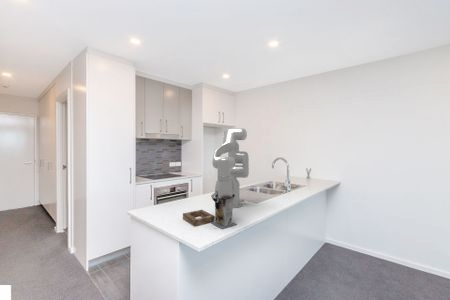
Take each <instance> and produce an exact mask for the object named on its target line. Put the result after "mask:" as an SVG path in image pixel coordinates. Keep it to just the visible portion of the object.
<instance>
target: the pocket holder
mask: <svg viewBox="0 0 450 300" xmlns="http://www.w3.org/2000/svg"><path fill="white" fill-rule="evenodd" d="M197 217H198V218H197ZM182 219H183V220H184V221H185V222H187V223H188V224H190V225H191V226H193V227H198V226H202V225H207V224H210V223H211V222H215V214H211V213H210V212H207V211H205V210H203V209H197V210H193V211H188V212H183V213H182Z"/></svg>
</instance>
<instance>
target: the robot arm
mask: <svg viewBox="0 0 450 300" xmlns="http://www.w3.org/2000/svg"><path fill="white" fill-rule="evenodd" d="M247 132H248V131H247V129H245V128H241V127H240V128H236V127H235V128H232V127H231V128H227V129H225V130H224V131H223V135H224V136H223V141H222V144H221V145H219V146H218V147H217V148H216V150H215V151H214V153H213V157H212V161H211V162H212V166H213V168H215V169H217V181H216V182H215V186H214V192H213V193H212V194H211V195H210V197H211V200H212V201H213V202H214V208H216V209H219V200H220V199H222V198H223V197H233V209H234V208H240V207H242V203H243V202H245V199H242V198H240V196H241V195H240V193H241V192H240V188H241V187H240V186H241V184H240V181H239V179H240V178H241V179H242V178H245V179H246V178H248V177H249V171H250V167H249V166H250V165H249V164H250V163H249V162H250V161H249V160H250V159H249V154H248V152H247V151H240V144H239V143H238V141H245V140H246V139H247V136H248V135H247V134H248V133H247ZM227 153H228V154H227ZM224 154H227V156H222V155H224ZM237 164H240V165H237ZM241 164H242V165H241ZM238 178H239V179H238ZM215 197H216V198H215Z"/></svg>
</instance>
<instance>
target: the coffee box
mask: <svg viewBox="0 0 450 300" xmlns="http://www.w3.org/2000/svg"><path fill="white" fill-rule="evenodd" d="M215 198H216V197H215ZM214 208H215V207H214ZM233 209H234V208H233V197H223V198H222V199H220V200H219V209H216V208H215V209H214V210H215V211H214V212H215V213H214V216H215V222H216V223H218V224H221V225H223V226H228V225H231V224H232V222H233V211H234V210H233Z"/></svg>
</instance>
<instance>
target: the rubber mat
mask: <svg viewBox="0 0 450 300" xmlns="http://www.w3.org/2000/svg"><path fill="white" fill-rule="evenodd" d="M237 224H238V223H236V222H234V221H232V224H231V225H228V226H223V225H221V224H218V223H216V222H211V225H213V226H215V227H217V228H218V229H220V230H225V229H227V228H232V227H235V226H237Z"/></svg>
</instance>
